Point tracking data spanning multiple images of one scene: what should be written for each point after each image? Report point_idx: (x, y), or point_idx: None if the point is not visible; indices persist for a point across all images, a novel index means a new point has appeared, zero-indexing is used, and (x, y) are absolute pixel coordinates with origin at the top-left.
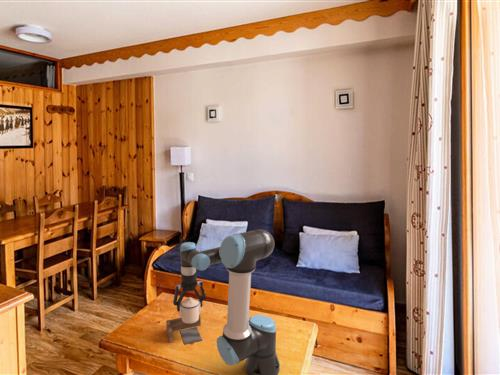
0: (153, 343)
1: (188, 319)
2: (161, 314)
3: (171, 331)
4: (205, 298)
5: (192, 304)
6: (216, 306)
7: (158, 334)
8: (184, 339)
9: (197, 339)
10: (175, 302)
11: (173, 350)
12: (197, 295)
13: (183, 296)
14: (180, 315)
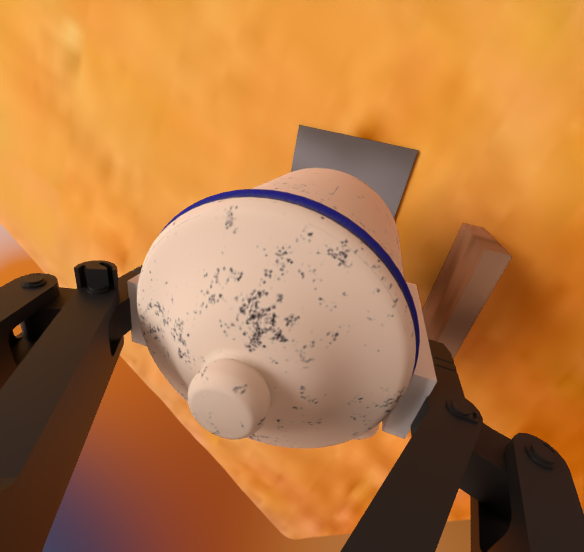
0: (568, 288)
1: (367, 194)
2: (370, 459)
3: (494, 251)
4: (20, 278)
5: (251, 249)
6: (137, 354)
7: (482, 344)
8: (388, 203)
9: (321, 152)
10: (543, 489)
11: (519, 131)
12: (58, 373)
13: (355, 540)
14: (415, 298)
